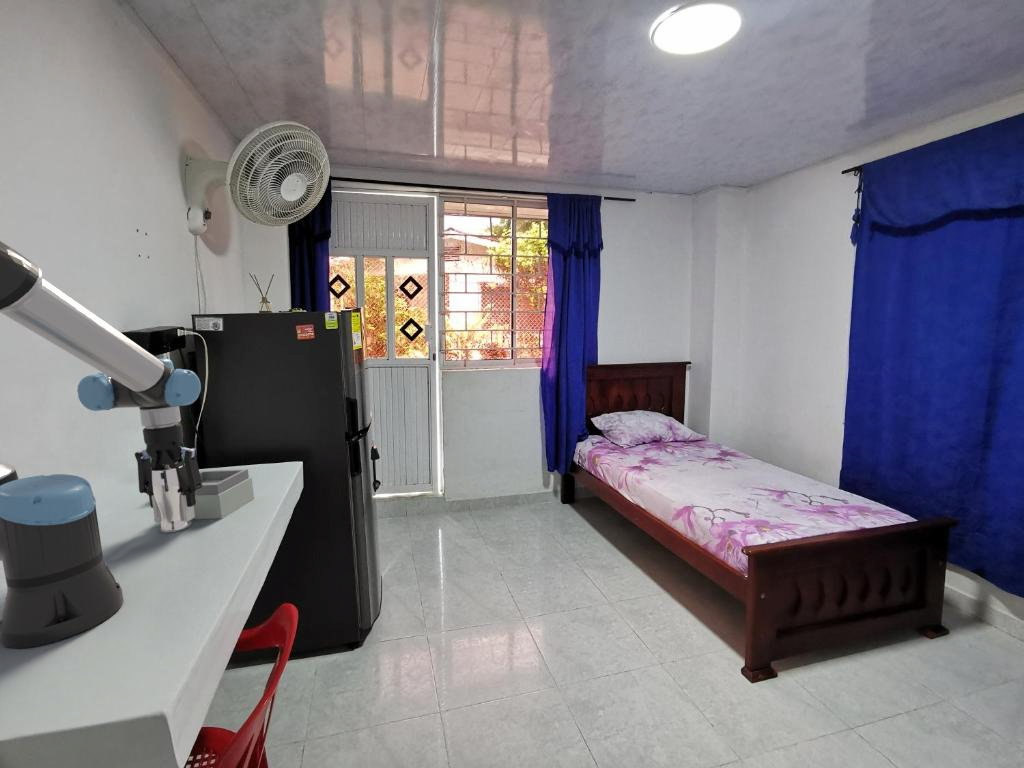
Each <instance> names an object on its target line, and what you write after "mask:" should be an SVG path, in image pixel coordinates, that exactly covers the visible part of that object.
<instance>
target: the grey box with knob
mask: <svg viewBox="0 0 1024 768" xmlns="http://www.w3.org/2000/svg"><path fill="white" fill-rule="evenodd" d="M199 473H200V477H201V482H202V488H200V489H198V490H196V491H195V500H196V504H195V505H194V512H195V518H193V519H192V520H213V519H215V520H217V519H224V518H225V517H227V516H229V515H230V514H232V513H233V512H235V511H236V510H239V509H240V508H241V507H242V506H243V507H244V505H246V504H249V502H251V501H252V500H254V499H255V493H254V485H253V484H254V483H253V477H250V474H249V469H248V468H247V469H244V468H243V469H222V470H221V469H219V470H217V469H216V470H214V469H213V470H201V471H199Z"/></svg>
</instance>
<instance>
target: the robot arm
mask: <svg viewBox="0 0 1024 768" xmlns="http://www.w3.org/2000/svg"><path fill="white" fill-rule="evenodd" d="M0 313H1V314H2V315H5V316H6V317H7V318H9V319H10V320H12V321H14V322H16V323H17V324H19V325H21V326H22V327H24V328H26V329H28V330H29V331H31V332H33V333H34V334H36V335H38V336H40V337H42V338H43V339H45V340H47V341H48V342H49V343H50V344H51V343H52V344H53V345H54V346H57V347H58V348H60V349H62V350H63V351H64V352H67V353H69V355H72V356H74V357H75V358H77V359H79V360H80V361H82V362H83V363H86V364H88V365H89V366H90V367H92V368H94V369H96V370H98V371H99V373H96V374H95V373H94V374H91V375H87V376H84V377H83V378H82V379H81V380H80V381H79V383H78V384H77V391H76V392H77V395H78V396H77V398H78V400H79V401H80V403H81V404H82V406H83V407H84V408H86V409H87V410H89V411H94V412H99V411H110V410H112V409H119V408H120V409H121V408H138V409H139V414H140V415H139V416H140V421H141V422H140V423H141V426H143V427H144V428H143V429H142V436H143V442H144V444H145V445H147V446H146V447H145V449H143V450H140V451H135V453H134V458H135V460H136V463H137V475H138V491H139V493H140V494H146V495H147V496H148V498H149V503H150V504H149V506H150V508H151V509H153V514H154V515H153V516H154V522H155V523H161V514H160V511H159V508H158V505H157V503H156V500H155V497H154V494H153V489H152V479H151V469H153V470H154V471H160V470H164V466H165V465H169V467H170V468H171V469H173V468H177V473H178V478H179V483H180V486H181V488H182V490H183V492H184V493H182V495H181V502H182V509H183V516H184V522H187V521H189V520H190V521H191V520H194V519H193V518H195V512H194V505H195V504H196V500H195V491H196V490H198V489H200V488H202V482H201V477H200V473H199V472H200V468H199V464H198V460H197V455H198V454H197V453H198V448H196V447H192V448H188V447H185V445H184V443H183V438H184V432H183V424H181V423H179V422H180V421H181V420H182V418H181V413H180V411H181V410H180V407H182V406H188V405H189V406H190V405H192V404H194V402H195V401H197V399H198V398H199V396H200V393H201V389H202V386H201V385H202V384H201V381H200V378H199V377H198V375H197V374H196V372H194V371H193V370H190V369H182V368H176V369H175V367H174V363H173V361H172V360H171V359H170V358H157V357H156V356H155V355H153V354H152V353H150V352H148V351H147V350H146V349H145V348H143V347H141V346H140V345H139V344H137V343H136V342H135V341H133V340H132V339H130V338H129V337H127V336H126V335H124V334H123V333H121V332H120V331H118V330H117V329H116V328H114V327H113V326H112V325H110V324H109V323H107V322H106V321H105V320H103V319H101V318H100V317H99V316H97V315H96V314H94V313H93V312H92V311H90V310H89V309H87V308H86V307H84V306H83V305H82V304H80V303H79V302H77V301H76V300H74V299H73V298H72V297H70V296H68V295H67V294H66V293H64V292H63V291H62V290H60V289H59V288H57V287H56V286H55V285H53V284H52V283H50V282H49V281H47V280H46V279H45V278H43V277H42V270H41V268H40V267H39V266H38V265H37V264H36V263H34V262H32V261H31V260H30V259H28V258H27V257H25V256H24V255H23V254H21V253H20V252H18V251H17V250H16V249H14V248H12V247H10V246H9V245H7V244H6V243H5V242H3V241H1V240H0ZM180 466H182V467H180ZM179 467H180V468H179ZM96 503H97V502H96V498H95V496H94V493H93V490H92V486H91V483H90V482H89V481H88V480H86V478H84V477H81V476H79V475H73V474H61V473H58V474H55V473H53V474H50V475H44V474H42V475H33V476H29V477H27V476H26V477H23V478H19V475H18V473H17V470H16V468H15V466H14V465H12V464H8V463H7V462H3V461H1V460H0V562H2V567H3V573H4V577H5V578H4V579H5V582H6V587H7V588H6V589H7V591H6V596H5V602H4V605H3V611H2V617H1V619H0V643H1V645H2V646H4V647H6V646H7V647H6V648H10V647H11V648H12V649H25V648H26V649H27V648H32V647H38V646H43V645H48V644H51V643H55V642H58V641H61V640H64V639H67V638H70V637H72V636H76V635H78V634H80V633H83V632H85V631H88V630H89V629H91V628H93V627H96V626H97V625H99V624H101V623H102V622H105V620H107V619H109V618H111V617H112V616H113V615H114V614H116V613H117V612H118V611H119V609H120V608H121V607H122V606H123V605H124V602H125V600H124V596H123V595H124V593H123V588H122V586H121V585H120V583H118V582H117V581H116V580H117V579H115V577H114V574H113V573H112V572H111V570H110V568H109V567H108V566H107V564H106V563H105V560H104V554H103V548H102V541H101V535H100V527H99V520H98V514H97V508H96Z"/></svg>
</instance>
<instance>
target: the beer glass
mask: <svg viewBox="0 0 1024 768" xmlns="http://www.w3.org/2000/svg"><path fill="white" fill-rule="evenodd" d="M180 467H182V466H180ZM180 467H179V468H180ZM151 479H152V489H153V494H154V497H155V500H156V503H157V505H158V508H159V511H160V514H161V521H160V532H162V533H164V534H165V533H166V534H169V533H175V532H179V531H182V530H185V529H187V528H189V527H191V525H192V521H191V520H189V521H187V522H184V516H183V509H182V502H181V495H182V493H184V492H183V490H182V488H181V486H180V483H179V478H178V473H177V468H173V469H171V468H170V467H169V465H165V466H164V470H160V471H154V470H153V469H151Z"/></svg>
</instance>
